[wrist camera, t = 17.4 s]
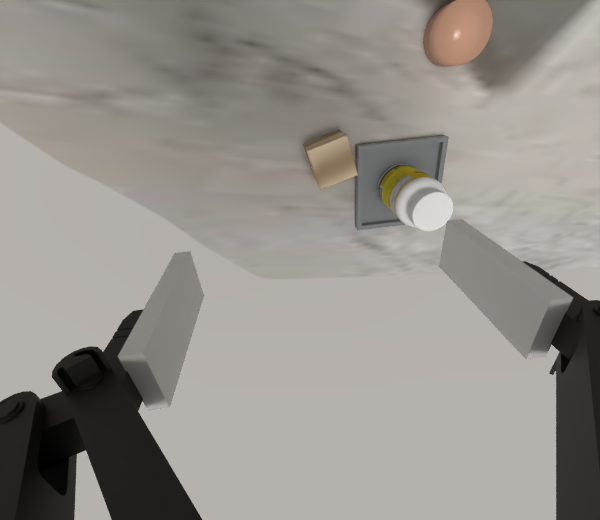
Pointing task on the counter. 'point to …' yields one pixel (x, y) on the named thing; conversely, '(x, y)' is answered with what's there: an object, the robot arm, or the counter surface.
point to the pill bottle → (415, 197)
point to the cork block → (331, 159)
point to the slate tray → (380, 158)
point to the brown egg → (458, 32)
